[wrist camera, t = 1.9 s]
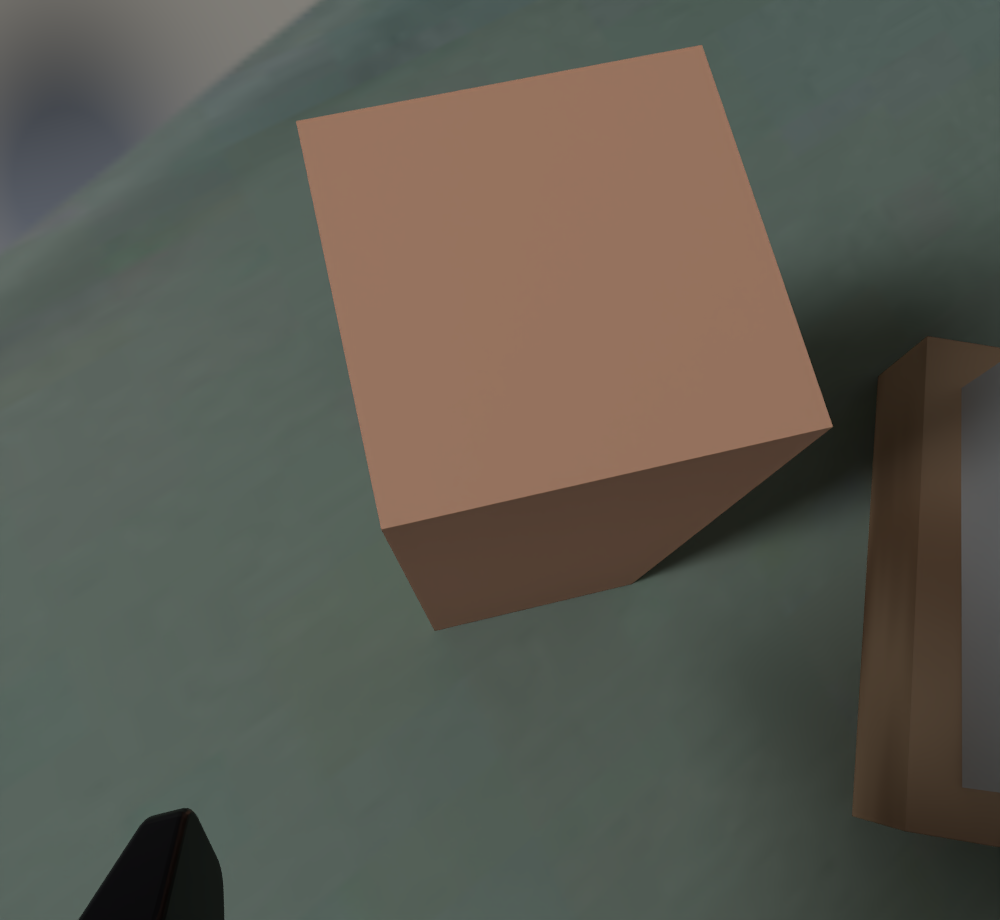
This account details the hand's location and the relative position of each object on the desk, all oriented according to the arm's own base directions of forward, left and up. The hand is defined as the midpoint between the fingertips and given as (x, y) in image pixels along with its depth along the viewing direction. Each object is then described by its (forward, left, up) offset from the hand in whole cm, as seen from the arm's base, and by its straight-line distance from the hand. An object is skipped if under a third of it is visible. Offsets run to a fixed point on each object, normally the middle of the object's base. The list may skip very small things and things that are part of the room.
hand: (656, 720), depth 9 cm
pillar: (+4, +2, -11) cm, 12 cm away
